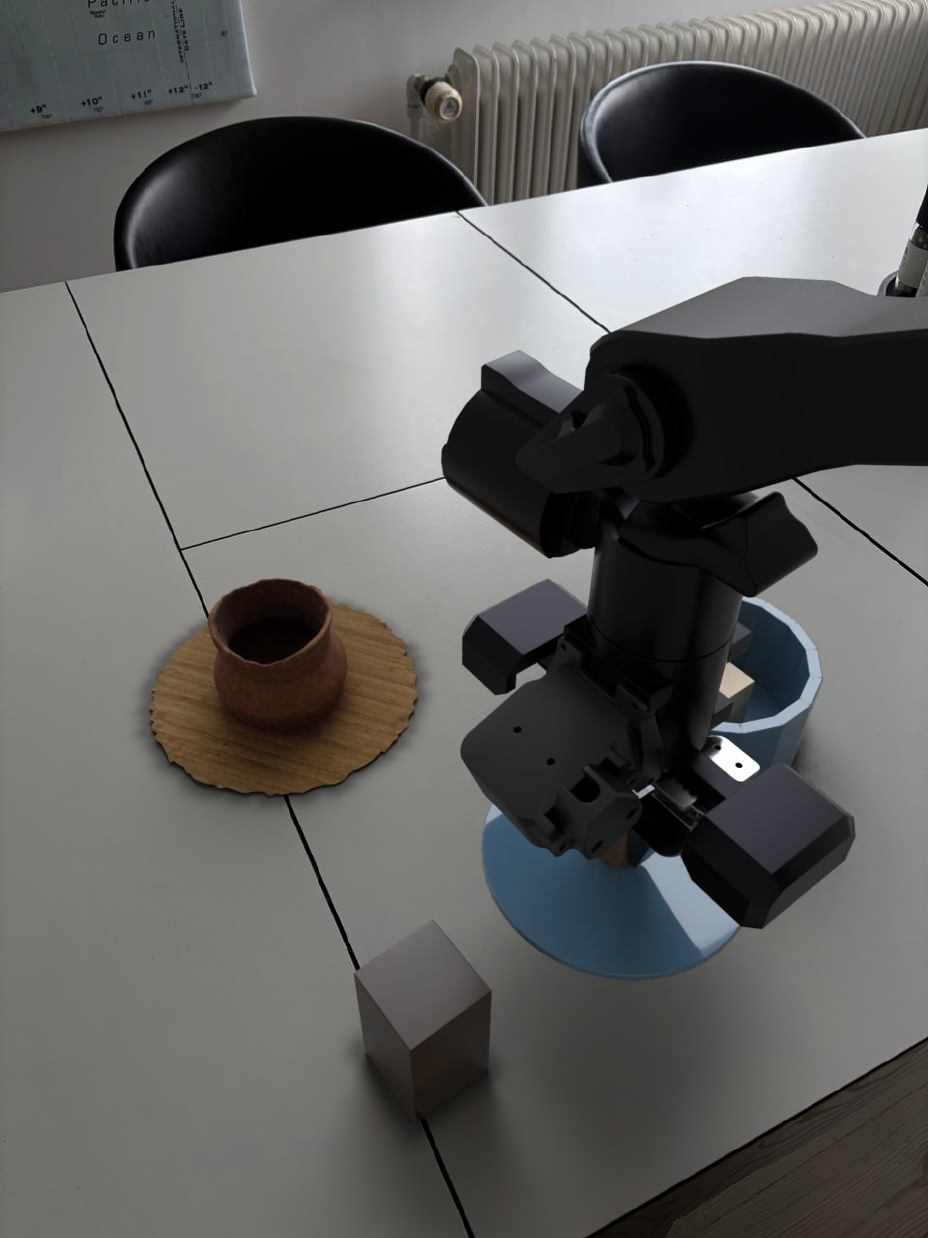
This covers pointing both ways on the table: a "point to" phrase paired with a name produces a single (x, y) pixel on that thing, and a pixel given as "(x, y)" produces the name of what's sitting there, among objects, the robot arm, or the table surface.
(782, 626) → the bowl
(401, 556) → the table surface
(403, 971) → the stand
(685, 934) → the bowl lid
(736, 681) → the block
